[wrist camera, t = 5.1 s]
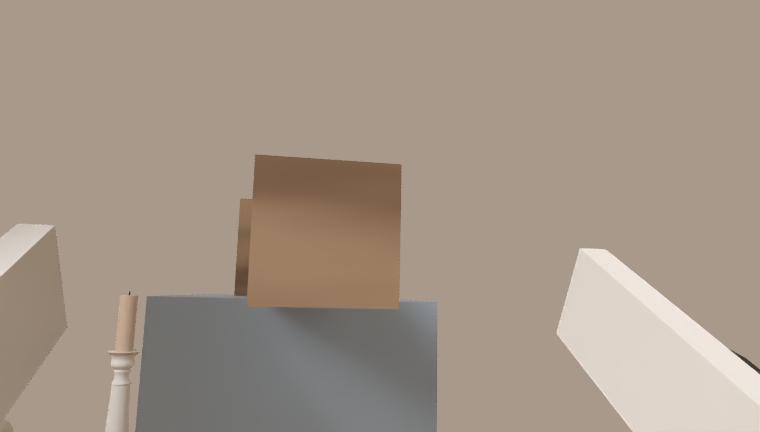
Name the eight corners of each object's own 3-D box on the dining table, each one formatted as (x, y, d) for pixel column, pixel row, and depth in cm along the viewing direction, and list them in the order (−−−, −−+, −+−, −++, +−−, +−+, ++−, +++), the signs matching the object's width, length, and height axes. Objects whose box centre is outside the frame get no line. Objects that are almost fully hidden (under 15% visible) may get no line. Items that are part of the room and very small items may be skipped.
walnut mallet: (492, 311, 11) (489, 40, 12) (135, 304, 10) (162, 3, 11) (336, 297, 40) (339, 219, 41) (241, 295, 39) (246, 214, 40)
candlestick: (9, 576, 56) (42, 289, 60) (100, 525, 68) (121, 290, 73) (112, 595, 53) (138, 292, 57) (187, 539, 65) (204, 292, 69)
